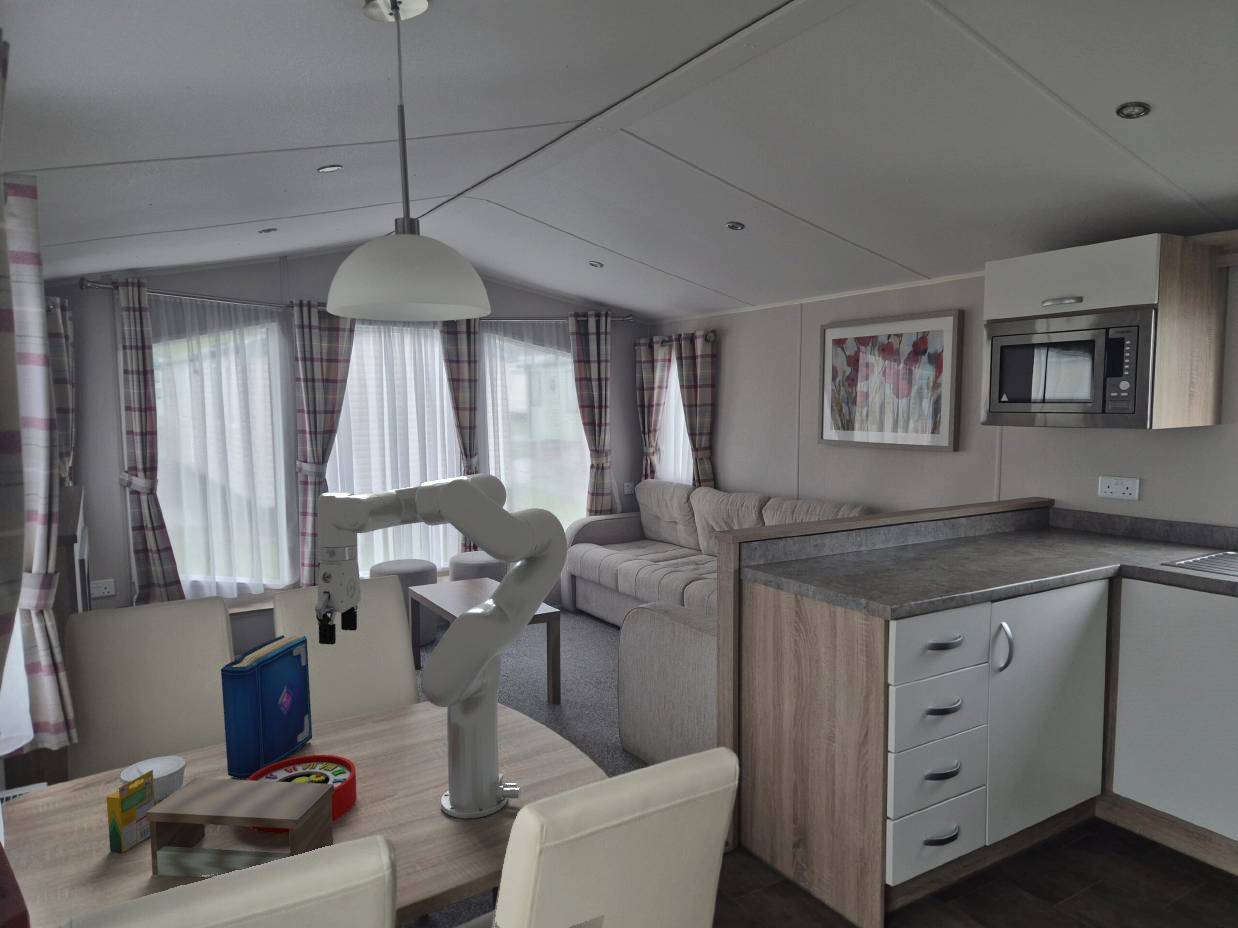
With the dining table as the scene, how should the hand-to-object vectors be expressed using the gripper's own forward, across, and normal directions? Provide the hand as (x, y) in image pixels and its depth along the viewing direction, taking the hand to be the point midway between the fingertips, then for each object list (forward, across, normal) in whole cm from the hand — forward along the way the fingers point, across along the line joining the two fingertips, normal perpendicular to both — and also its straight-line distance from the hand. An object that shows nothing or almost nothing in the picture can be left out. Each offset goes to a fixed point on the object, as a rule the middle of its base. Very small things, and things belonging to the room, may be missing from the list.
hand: (338, 636), depth 158 cm
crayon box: (+31, -26, +26) cm, 48 cm away
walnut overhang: (+30, -29, +3) cm, 42 cm away
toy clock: (+30, -11, +2) cm, 32 cm away
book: (+31, +7, +19) cm, 37 cm away
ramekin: (+31, -8, +34) cm, 47 cm away
